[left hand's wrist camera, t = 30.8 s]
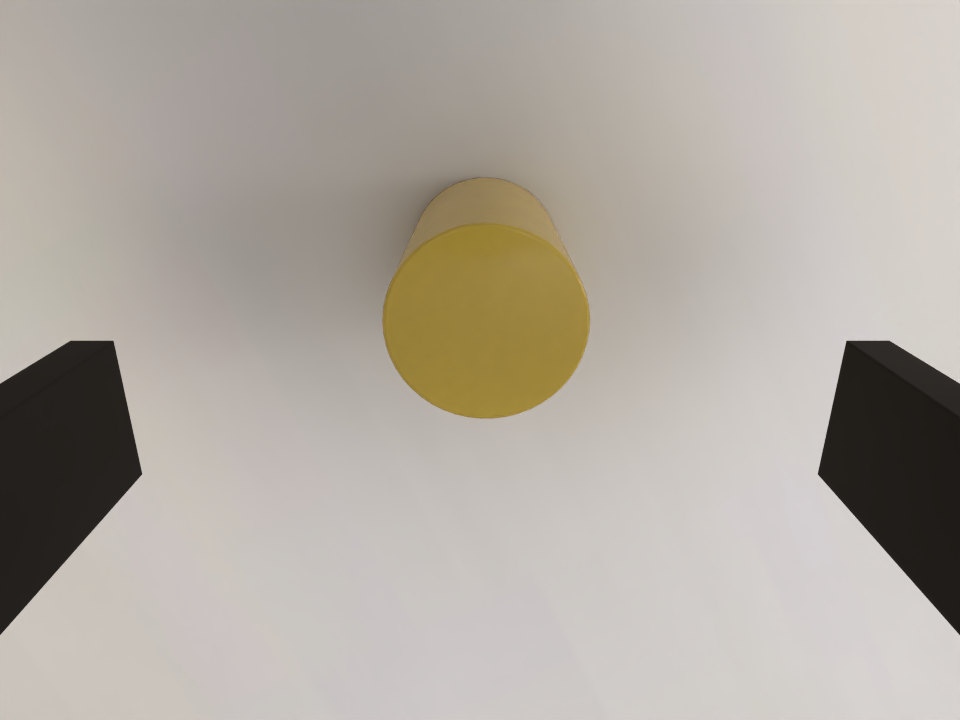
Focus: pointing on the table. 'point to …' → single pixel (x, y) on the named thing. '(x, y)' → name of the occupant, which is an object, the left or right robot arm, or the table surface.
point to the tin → (485, 303)
